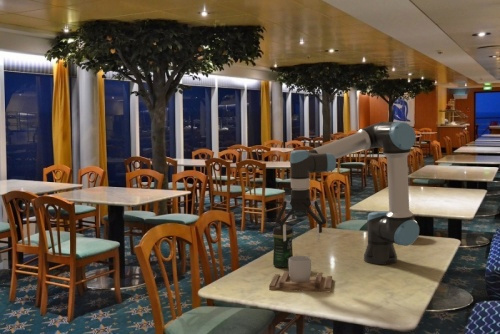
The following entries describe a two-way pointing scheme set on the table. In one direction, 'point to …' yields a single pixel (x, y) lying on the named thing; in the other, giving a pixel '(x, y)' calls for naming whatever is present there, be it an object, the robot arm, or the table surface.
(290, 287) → the rack
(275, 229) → the coffee jar
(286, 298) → the table surface
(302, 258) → the mug
